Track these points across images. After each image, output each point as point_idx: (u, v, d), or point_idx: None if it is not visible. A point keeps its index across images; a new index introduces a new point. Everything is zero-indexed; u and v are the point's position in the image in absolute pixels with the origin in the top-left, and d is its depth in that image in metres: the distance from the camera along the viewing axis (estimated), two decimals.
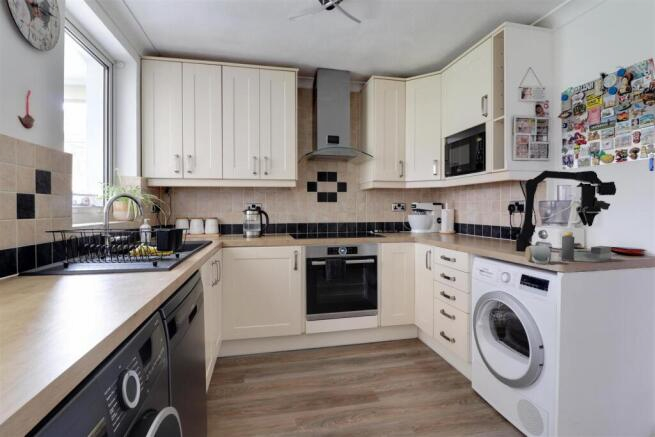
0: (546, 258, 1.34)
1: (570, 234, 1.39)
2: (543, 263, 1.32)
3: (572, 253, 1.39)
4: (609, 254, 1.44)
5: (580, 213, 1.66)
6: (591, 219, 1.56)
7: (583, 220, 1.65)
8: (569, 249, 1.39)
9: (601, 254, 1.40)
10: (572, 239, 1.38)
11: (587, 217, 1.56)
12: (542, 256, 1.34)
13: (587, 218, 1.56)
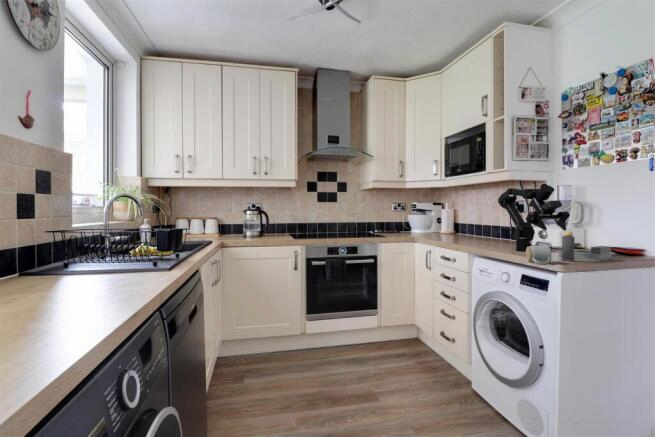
0: (546, 258, 1.34)
1: (570, 234, 1.39)
2: (543, 263, 1.31)
3: (572, 253, 1.39)
4: (609, 254, 1.44)
5: (557, 222, 1.54)
6: (540, 224, 1.51)
7: (561, 226, 1.51)
8: (569, 249, 1.39)
9: (601, 254, 1.40)
10: (572, 239, 1.38)
11: (537, 224, 1.53)
12: (542, 256, 1.34)
13: (538, 225, 1.52)
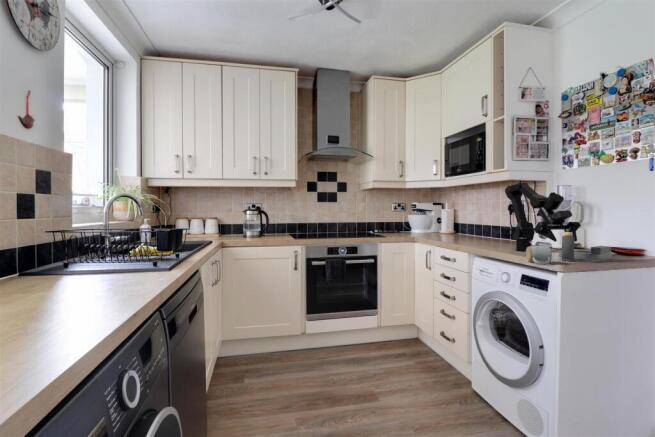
0: (547, 258, 1.33)
1: (570, 234, 1.39)
2: (544, 263, 1.31)
3: (572, 253, 1.39)
4: (609, 254, 1.44)
5: None
6: (550, 235, 1.44)
7: None
8: (569, 249, 1.39)
9: (601, 254, 1.40)
10: (572, 239, 1.38)
11: (546, 235, 1.46)
12: (543, 256, 1.34)
13: (547, 236, 1.46)
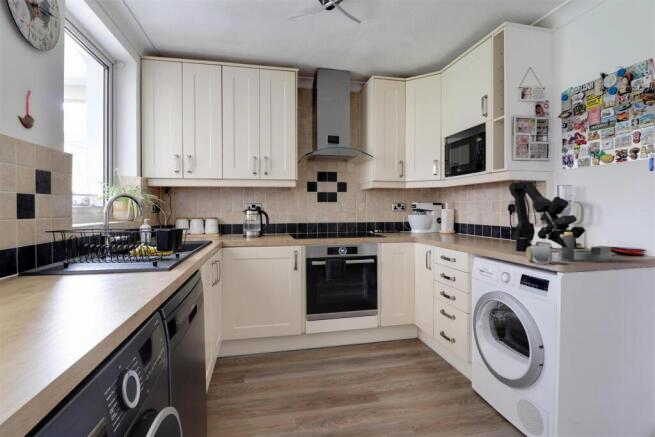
0: (547, 258, 1.33)
1: (570, 234, 1.39)
2: (544, 263, 1.31)
3: (572, 253, 1.39)
4: (609, 254, 1.44)
5: None
6: (559, 240, 1.41)
7: None
8: (569, 249, 1.39)
9: (601, 254, 1.40)
10: (572, 239, 1.38)
11: (555, 240, 1.43)
12: (543, 256, 1.33)
13: (556, 241, 1.43)
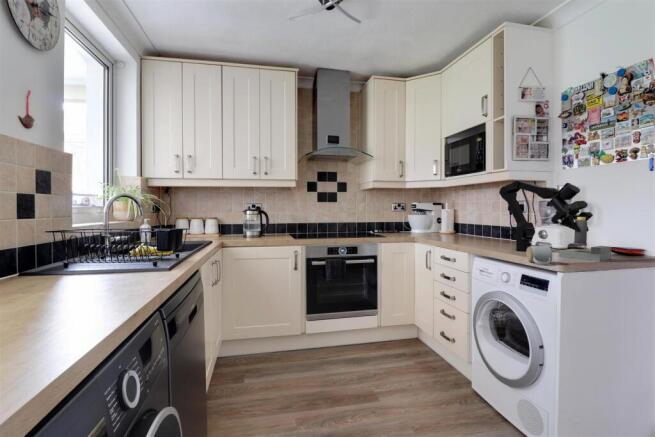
0: (547, 259, 1.33)
1: (584, 219, 1.43)
2: (544, 264, 1.30)
3: (585, 237, 1.43)
4: (609, 254, 1.44)
5: None
6: (573, 225, 1.44)
7: None
8: (583, 233, 1.42)
9: (601, 254, 1.40)
10: (586, 223, 1.42)
11: (568, 225, 1.46)
12: (543, 257, 1.33)
13: (569, 226, 1.46)
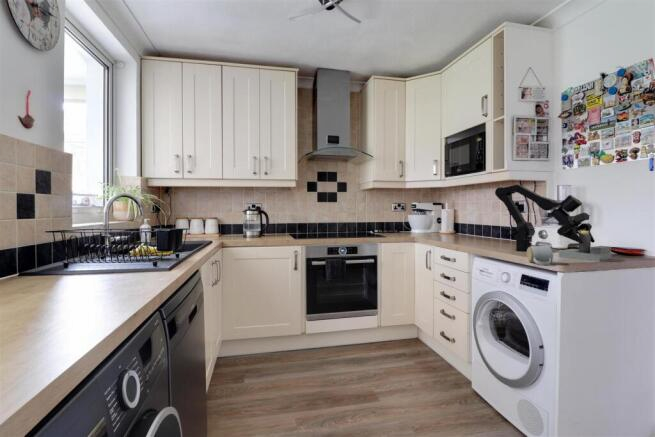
0: (548, 259, 1.32)
1: (588, 232, 1.48)
2: (545, 264, 1.30)
3: (590, 250, 1.47)
4: (609, 254, 1.44)
5: (580, 234, 1.55)
6: (575, 237, 1.47)
7: None
8: (588, 247, 1.47)
9: (601, 254, 1.40)
10: (590, 237, 1.47)
11: (570, 237, 1.49)
12: (544, 257, 1.32)
13: (571, 238, 1.49)
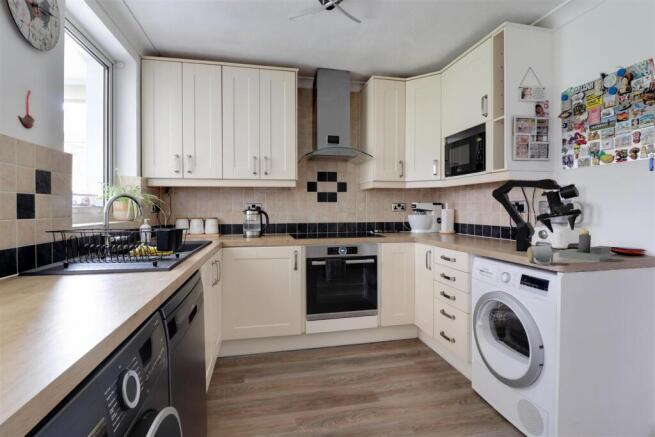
0: (548, 259, 1.31)
1: (588, 232, 1.48)
2: (545, 264, 1.29)
3: (590, 250, 1.47)
4: (609, 254, 1.44)
5: (568, 218, 1.61)
6: (548, 226, 1.60)
7: (570, 225, 1.59)
8: (588, 247, 1.47)
9: (601, 254, 1.40)
10: (590, 237, 1.47)
11: (546, 225, 1.62)
12: (544, 257, 1.32)
13: (546, 226, 1.62)
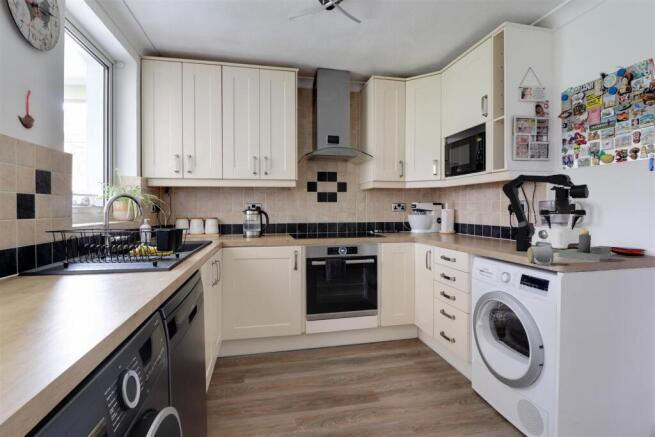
0: (548, 259, 1.31)
1: (588, 232, 1.48)
2: (545, 264, 1.29)
3: (590, 250, 1.47)
4: (609, 254, 1.44)
5: (572, 217, 1.59)
6: (547, 222, 1.62)
7: None
8: (588, 247, 1.47)
9: (601, 254, 1.40)
10: (590, 237, 1.47)
11: (546, 220, 1.63)
12: (544, 257, 1.31)
13: None
